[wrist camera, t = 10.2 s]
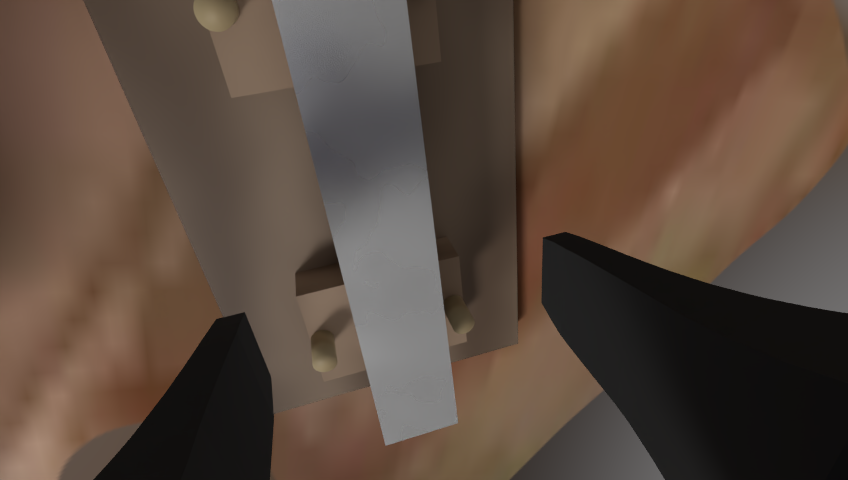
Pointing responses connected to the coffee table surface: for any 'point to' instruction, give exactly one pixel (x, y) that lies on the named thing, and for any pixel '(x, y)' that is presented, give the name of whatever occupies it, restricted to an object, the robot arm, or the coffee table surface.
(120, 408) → the coffee table surface
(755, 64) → the coffee table surface
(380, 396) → the steel bar
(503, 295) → the board
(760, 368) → the robot arm
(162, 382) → the coffee table surface
